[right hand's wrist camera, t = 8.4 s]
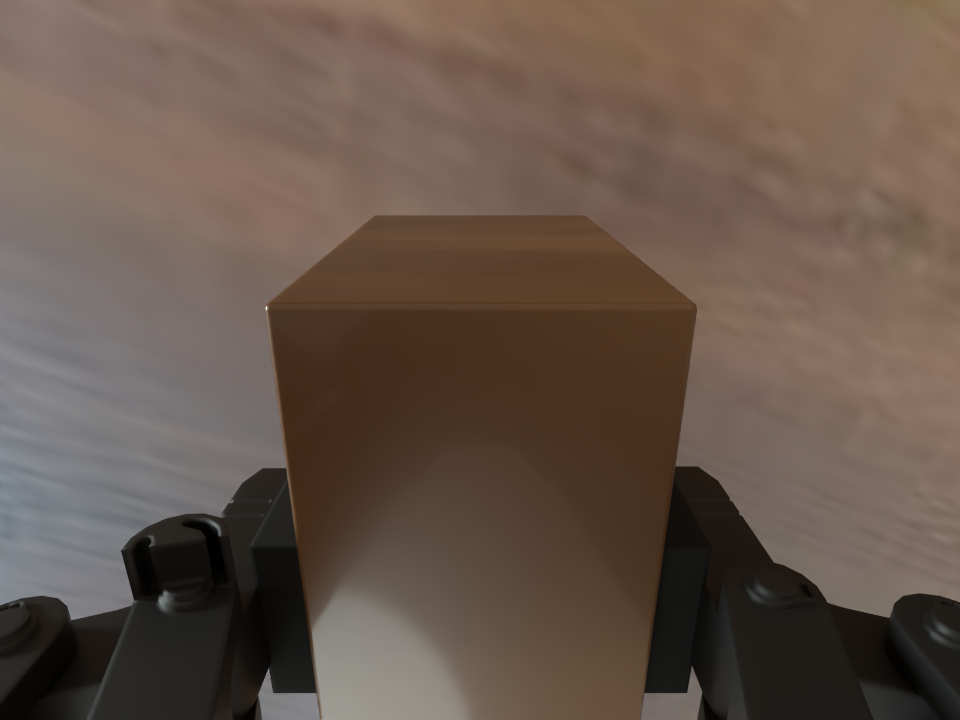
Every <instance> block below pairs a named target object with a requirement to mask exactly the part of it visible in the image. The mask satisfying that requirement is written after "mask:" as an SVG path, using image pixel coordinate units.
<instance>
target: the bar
mask: <svg viewBox="0 0 960 720" xmlns="http://www.w3.org/2000/svg"><path fill="white" fill-rule="evenodd" d="M265 313H266V321H267V328H268V336H269V343H270V351H271V358H272V365H273V373H274V380H275V388H276V395H277V403H278V410H279V417H280V425H281V432H282V440H283V447H284V455H285V462H286V469H287V477H288V484H289V492H290V499H291V507H292V514H293V522H294V529H295V536H296V544H297V551H298V559H299V566H300V574H301V581H302V588H303V596H304V603H305V611H306V618H307V626H308V633H309V640H310V648H311V655H312V663H313V670H314V678H315V685H316V692H317V700H318V707H319V715H320V720H641V713H642V706H643V699H644V691H645V684H646V677H647V669H648V662H649V655H650V648H651V640H652V633H653V626H654V619H655V611H656V604H657V597H658V589H659V582H660V575H661V568H662V560H663V553H664V546H665V539H666V531H667V524H668V517H669V509H670V502H671V495H672V488H673V480H674V473H675V466H676V458H677V451H678V444H679V437H680V429H681V422H682V415H683V408H684V400H685V393H686V386H687V378H688V371H689V364H690V357H691V349H692V342H693V335H694V328H695V320H696V313H697V308H696V304H695V303H693V302H692V301H691V300H690V299H688V298H687V297H686V296H685V295H683V294H682V293H681V292H680V291H678V290H677V289H676V288H675V287H673V286H672V285H671V284H670V283H668V282H667V281H666V280H665V279H663V278H662V277H661V276H660V275H658V274H657V273H656V272H655V271H653V270H652V269H651V268H650V267H649V266H647V265H646V264H645V263H644V262H642V261H641V260H640V259H639V258H637V257H636V256H635V255H634V254H632V253H631V252H630V251H629V250H627V249H626V248H625V247H624V246H622V245H621V244H620V243H619V242H617V241H616V240H615V239H614V238H612V237H611V236H610V235H609V234H608V233H606V232H605V231H604V230H603V229H601V228H600V227H599V226H598V225H596V224H595V223H594V222H593V221H591V220H590V219H589V218H588V217H586V216H374V217H373V218H371V219H370V220H369V221H368V222H366V223H365V224H364V225H363V226H362V227H360V228H359V229H358V230H357V231H355V232H354V233H353V234H352V235H351V236H349V237H348V238H347V239H346V240H344V241H343V242H342V243H341V244H339V245H338V246H337V247H336V248H335V249H333V250H332V251H331V252H330V253H328V254H327V255H326V256H325V257H324V258H322V259H321V260H320V261H319V262H317V263H316V264H315V265H314V266H313V267H311V268H310V269H309V270H308V271H306V272H305V273H304V274H303V275H301V276H300V277H299V278H298V279H297V280H295V281H294V282H293V283H292V284H290V285H289V286H288V287H287V288H286V289H284V290H283V291H282V292H281V293H279V294H278V295H277V296H276V297H275V298H273V299H272V300H271V301H270V302H268V303H267V304H266V307H265Z"/></svg>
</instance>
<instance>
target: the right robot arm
mask: <svg viewBox="0 0 960 720" xmlns="http://www.w3.org/2000/svg"><path fill="white" fill-rule="evenodd" d="M121 552H122V556H123V560H124V563H125V567H126V571H127V575H128V579H129V582H130V586H131V590H132V594H133V598H134V602H133V605H132V606H129V607H126V608H123V609H119V610H116V611H111V612H107V613H103V614H98V615H94V616H89V617H85V618H80V619H76V620H72V621H71V618H70V614H69V611H68V608H67V606H66V605H65V604H64V603H63V602H62V601H60V600H59V599H58V598H52V597H46V596H37V597H29V598H22V599H18V600H15V601H12V602H9V603H6V604H3V605H0V720H262V716H261V709H260V703H259V697H258V693H259V691H260V688H261V686H262V683H263V681H264V678H265V676H266V673H267V670H268V668H269V670H270V676H271V682H272V688H273V693H317V692H316V685H315V678H314V670H313V663H312V655H311V648H310V640H309V633H308V626H307V618H306V611H305V603H304V596H303V588H302V581H301V574H300V566H299V559H298V551H297V544H296V536H295V529H294V522H293V514H292V507H291V499H290V492H289V484H288V477H287V469H286V468H263V469H261V470H260V471H259V472H257V473H256V474H254V475H253V476H252V477H250V478H249V479H247V480H246V481H245V482H243V483H242V485H241V486H240V487H239V489H238V490H237V492H236V493H235V495H234V496H233V498H232V499H231V503H229V504H228V505H227V507H226V508H225V510H224V511H223V513H222V516H221V518H219V517H215V516H211V515H208V514H185V515H180V516H176V517H172V518H167V519H164V520H162V521H160V522H158V523H155V524H153V525H151V526H148V527H146V528H145V529H143V530H142V531H141V532H139V533H138V534H136V535H135V536H133V537H132V538H131V539H130V540H129V541H128V543H127V544H126V545H125V547H124V548H123V549H122V550H121ZM691 667H693V669H694V672H695V674H696V677H697V679H698V682H699V684H700V687H701V689H702V697H701V703H700V708H699V714H698V719H697V720H960V602H957V601H955V600H951V599H948V598H945V597H942V596H936V595H928V594H920V593H919V594H912V595H906V596H903V597H902V598H900V599H899V600H898V601H897V602H896V603H895V604H894V606H893V610H892V613H891V616H890V618H887V617H882V616H878V615H873V614H869V613H864V612H860V611H856V610H851V609H847V608H843V607H839V606H836V605H833V604H829V603H827V601H826V599H825V598H824V596H823V595H822V593H821V592H820V590H819V589H818V587H817V586H816V585H815V584H813V583H812V582H811V581H810V580H808V579H807V578H806V577H805V576H803V575H802V574H800V573H798V572H796V571H794V570H792V569H790V568H788V567H786V566H784V565H781V564H777V563H774V562H773V561H772V559H771V558H770V556H769V555H768V553H767V552H766V551H765V549H764V548H763V546H762V545H761V543H760V542H759V540H758V539H757V537H756V536H755V534H754V533H753V531H752V530H751V529H750V527H749V526H748V524H747V523H746V521H745V520H744V518H743V517H742V516H740V515H739V511H738V510H737V508H736V507H735V505H734V504H733V502H732V501H730V498H729V496H728V495H727V493H726V492H725V490H724V489H723V488H722V486H721V485H720V483H719V482H718V481H717V480H716V479H714V478H713V477H712V476H710V475H709V474H707V473H706V472H705V471H703V470H702V469H700V468H699V467H675V473H674V480H673V488H672V495H671V502H670V509H669V517H668V524H667V531H666V539H665V546H664V553H663V560H662V568H661V575H660V582H659V589H658V597H657V604H656V611H655V619H654V626H653V633H652V640H651V648H650V655H649V662H648V669H647V677H646V684H645V691H644V693H687V690H688V684H689V679H690V673H691Z"/></svg>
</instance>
